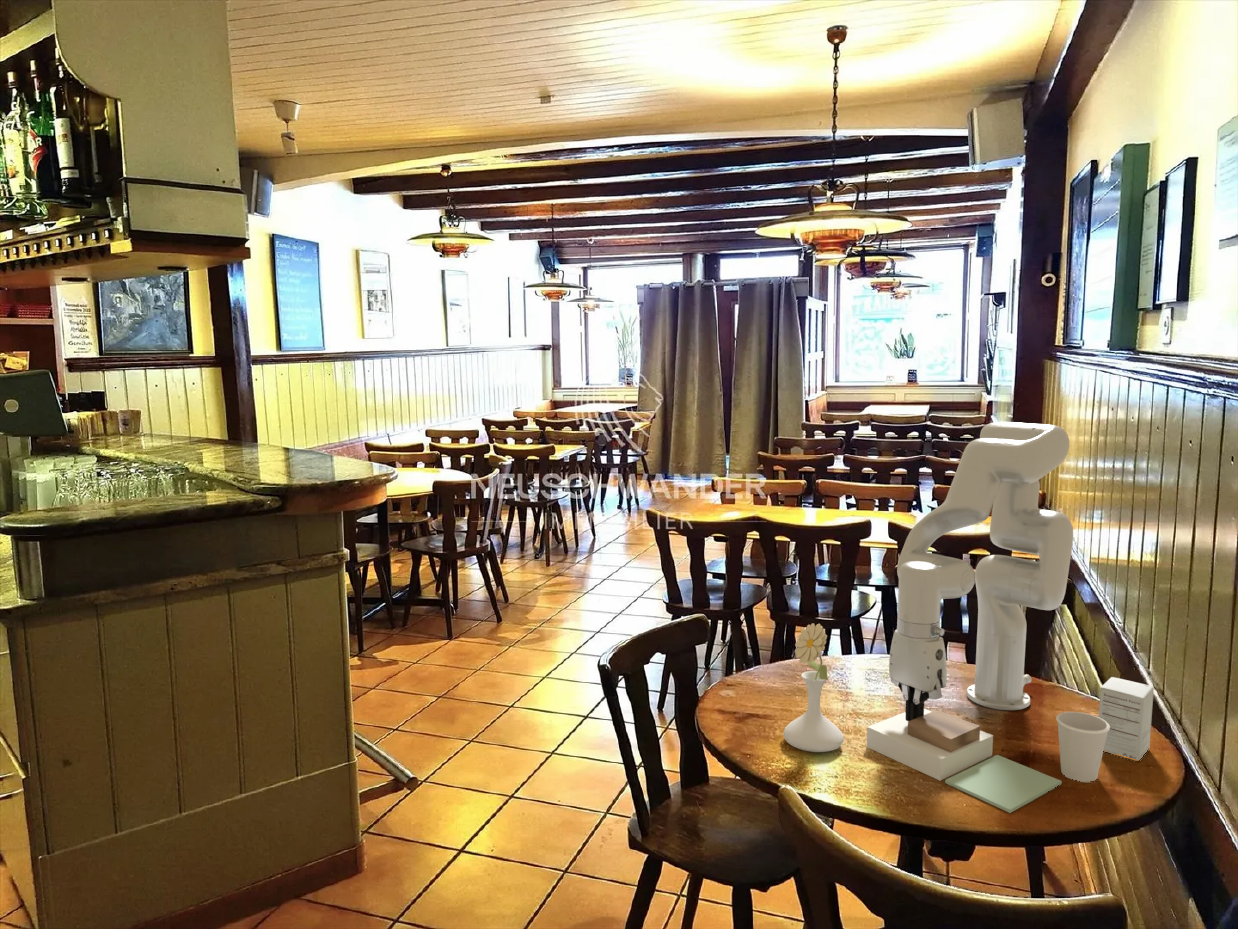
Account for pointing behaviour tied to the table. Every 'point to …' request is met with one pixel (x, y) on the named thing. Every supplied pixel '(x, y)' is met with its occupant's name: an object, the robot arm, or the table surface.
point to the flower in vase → (813, 698)
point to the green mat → (1003, 783)
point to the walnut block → (943, 730)
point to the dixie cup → (1081, 744)
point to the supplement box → (1126, 716)
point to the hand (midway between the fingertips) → (914, 720)
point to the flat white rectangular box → (924, 748)
